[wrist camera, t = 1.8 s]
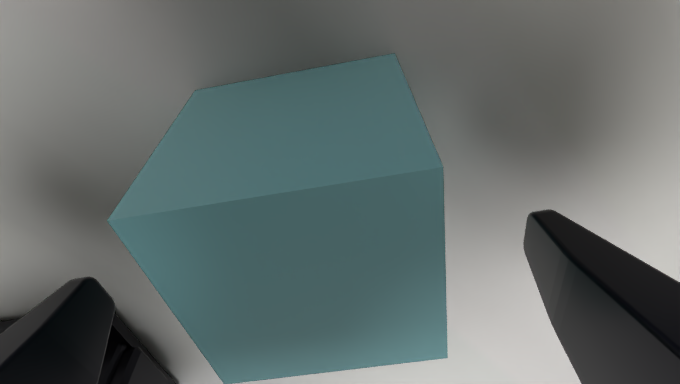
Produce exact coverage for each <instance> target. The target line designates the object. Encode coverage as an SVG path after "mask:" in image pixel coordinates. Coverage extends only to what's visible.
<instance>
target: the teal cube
mask: <svg viewBox="0 0 680 384" xmlns="http://www.w3.org/2000/svg"><path fill="white" fill-rule="evenodd" d="M107 222H108V223H109V224H110V226H111V227H112V229H113V230H114V231H115V233H116V234H117V235H118V237H119V238H120V240H121V241H122V242H123V244H124V245H125V247H126V248H127V249H128V251H129V252H130V254H131V255H132V256H133V258H134V259H135V261H136V262H137V263H138V265H139V266H140V268H141V269H142V270H143V272H144V273H145V275H146V276H147V277H148V279H149V280H150V281H151V283H152V284H153V286H154V287H155V288H156V290H157V291H158V293H159V294H160V295H161V297H162V298H163V300H164V301H165V302H166V304H167V305H168V307H169V308H170V309H171V311H172V312H173V314H174V315H175V316H176V318H177V319H178V321H179V322H180V323H181V325H182V326H183V327H184V329H185V330H186V332H187V333H188V334H189V336H190V337H191V339H192V340H193V341H194V343H195V344H196V346H197V347H198V348H199V350H200V351H201V353H202V354H203V355H204V357H205V358H206V360H207V361H208V362H209V364H210V365H211V367H212V368H213V369H214V371H215V372H216V373H217V375H218V376H219V378H220V379H221V380H222V382H223V383H224V384H232V383H240V382H249V381H257V380H266V379H274V378H283V377H291V376H299V375H308V374H316V373H325V372H333V371H342V370H350V369H358V368H367V367H375V366H384V365H392V364H401V363H409V362H417V361H426V360H434V359H443V358H447V313H446V268H445V223H444V179H443V165H442V163H441V161H440V158H439V156H438V154H437V151H436V149H435V147H434V144H433V142H432V140H431V137H430V135H429V132H428V130H427V128H426V125H425V123H424V121H423V118H422V116H421V114H420V111H419V109H418V107H417V104H416V102H415V100H414V97H413V95H412V93H411V90H410V88H409V86H408V83H407V81H406V79H405V76H404V74H403V72H402V69H401V67H400V65H399V62H398V60H397V58H396V55H395V53H393V54H388V55H382V56H377V57H372V58H366V59H361V60H356V61H350V62H345V63H339V64H334V65H329V66H323V67H318V68H313V69H307V70H302V71H296V72H291V73H286V74H280V75H275V76H269V77H264V78H259V79H253V80H248V81H243V82H237V83H232V84H226V85H221V86H216V87H210V88H205V89H199V90H195V91H194V93H193V94H192V96H191V97H190V99H189V100H188V102H187V103H186V105H185V106H184V107H183V109H182V110H181V112H180V113H179V115H178V116H177V118H176V119H175V121H174V122H173V124H172V125H171V127H170V128H169V130H168V131H167V133H166V134H165V136H164V137H163V139H162V140H161V142H160V143H159V144H158V146H157V147H156V149H155V150H154V152H153V153H152V155H151V156H150V158H149V159H148V161H147V162H146V164H145V165H144V167H143V168H142V170H141V171H140V173H139V174H138V176H137V177H136V179H135V180H134V181H133V183H132V184H131V186H130V187H129V189H128V190H127V192H126V193H125V195H124V196H123V198H122V199H121V201H120V202H119V204H118V205H117V207H116V208H115V210H114V211H113V213H112V214H111V216H110V217H109V218H108V220H107Z"/></svg>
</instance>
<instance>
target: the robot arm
mask: <svg viewBox="0 0 680 384" xmlns="http://www.w3.org/2000/svg"><path fill="white" fill-rule="evenodd" d="M524 251H525V255H526V257H527V260H528V263H529V265H530V268H531V271H532V273H533V276H534V279H535V281H536V284H537V287H538V290H539V292H540V295H541V298H542V300H543V303H544V306H545V308H546V311H547V314H548V316H549V319H550V321H551V324H552V326H553V328H554V330H555V332H556V334H557V336H558V338H559V340H560V342H561V344H562V346H563V348H564V350H565V352H566V354H567V356H568V358H569V360H570V362H571V364H572V366H573V368H574V370H575V372H576V373H577V375H578V377H579V379H580V381H581V383H582V384H680V282H678V281H676V280H675V279H673V278H671V277H669V276H668V275H666V274H664V273H662V272H661V271H659V270H657V269H655V268H654V267H652V266H650V265H648V264H647V263H645V262H643V261H641V260H640V259H638V258H636V257H634V256H633V255H631V254H629V253H627V252H626V251H624V250H622V249H620V248H619V247H617V246H615V245H613V244H612V243H610V242H608V241H607V240H605V239H603V238H601V237H600V236H598V235H596V234H594V233H593V232H591V231H589V230H587V229H586V228H584V227H582V226H580V225H579V224H577V223H575V222H573V221H572V220H570V219H568V218H566V217H565V216H563V215H561V214H559V213H558V212H556V211H554V210H542V211H536V212H531V213H530V214H529V215H528V217H527V223H526V229H525V236H524ZM114 312H115V304H114V301H113V299H112V298H111V296H110V295H109V294H108V293H107V292H106V291H105V289H104V288H103V287H102V286H101V285H100V283H99V282H98V281H97V280H96V279H95V278H93V277H84V278H77V279H73V280H70V281H68V282H67V283H66V284H64V285H63V286H62V287H61V288H59V289H58V290H57V291H55V292H54V293H53V294H52V295H50V296H49V297H48V298H46V299H45V300H44V301H43V302H41V303H40V304H39V305H37V306H36V307H35V308H33V309H32V310H31V311H30V312H28V313H27V314H26V315H24V316H23V317H22V318H21V319H18V320H10V321H3V322H0V384H176V383H175V382H174V381H173V380H172V379H171V378H170V376H169V375H168V374H167V373H166V372H165V371H164V370H163V368H162V367H161V366H160V365H159V364H158V363H157V361H156V360H155V359H154V358H153V357H152V356H151V354H150V353H149V352H148V351H147V350H146V349H145V348H144V346H143V345H142V344H141V343H140V342H139V341H138V339H137V338H136V337H135V336H134V335H133V334H132V333H131V331H130V330H129V329H128V328H127V327H126V326H125V324H124V323H123V322H122V321H121V320H120V319H119V317H118V316H117V315H116V314H115V313H114Z"/></svg>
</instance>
